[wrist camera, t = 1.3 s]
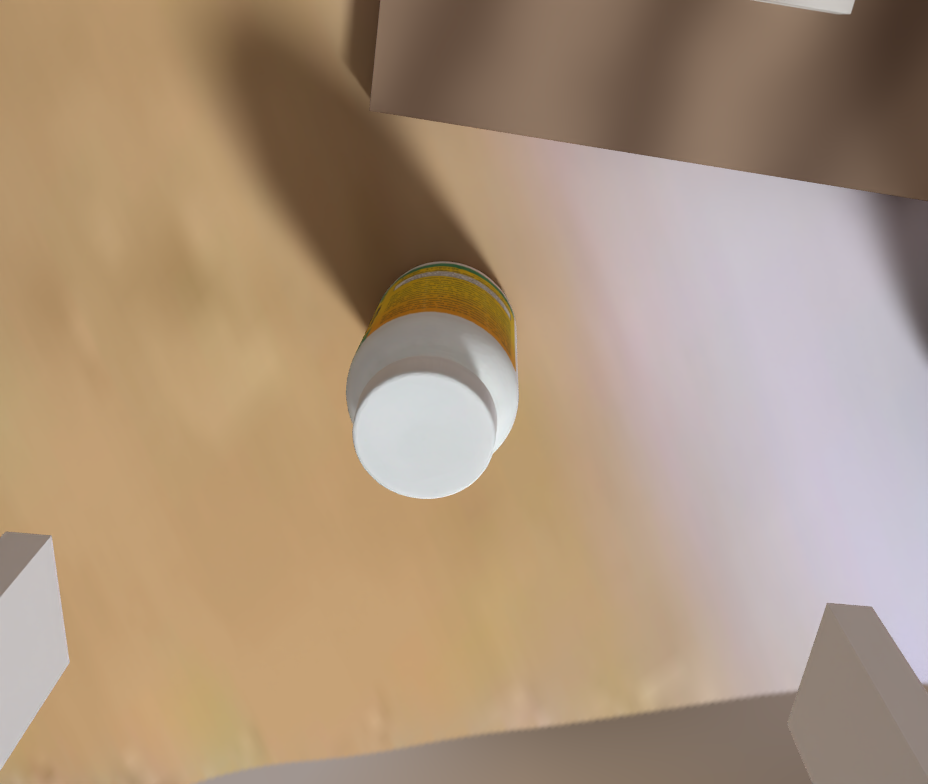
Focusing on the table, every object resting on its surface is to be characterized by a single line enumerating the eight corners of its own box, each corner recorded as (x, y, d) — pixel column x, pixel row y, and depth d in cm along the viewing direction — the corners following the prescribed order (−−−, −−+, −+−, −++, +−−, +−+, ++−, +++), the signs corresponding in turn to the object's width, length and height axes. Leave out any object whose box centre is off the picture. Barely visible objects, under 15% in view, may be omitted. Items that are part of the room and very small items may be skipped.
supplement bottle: (520, 386, 33) (526, 518, 24) (385, 394, 33) (342, 528, 24) (511, 251, 31) (514, 342, 22) (366, 262, 31) (312, 355, 22)
